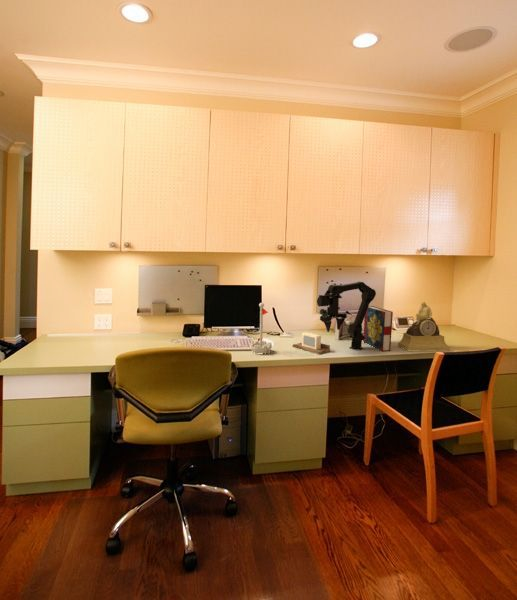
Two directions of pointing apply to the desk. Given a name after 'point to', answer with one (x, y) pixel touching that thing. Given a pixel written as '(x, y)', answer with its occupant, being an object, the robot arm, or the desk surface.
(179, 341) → the desk surface
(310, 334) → the picture frame
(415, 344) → the decorative clock
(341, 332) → the decorative sign
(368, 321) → the book
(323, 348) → the picture ledge
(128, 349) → the desk surface
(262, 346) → the flag stand
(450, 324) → the desk surface
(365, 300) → the robot arm
